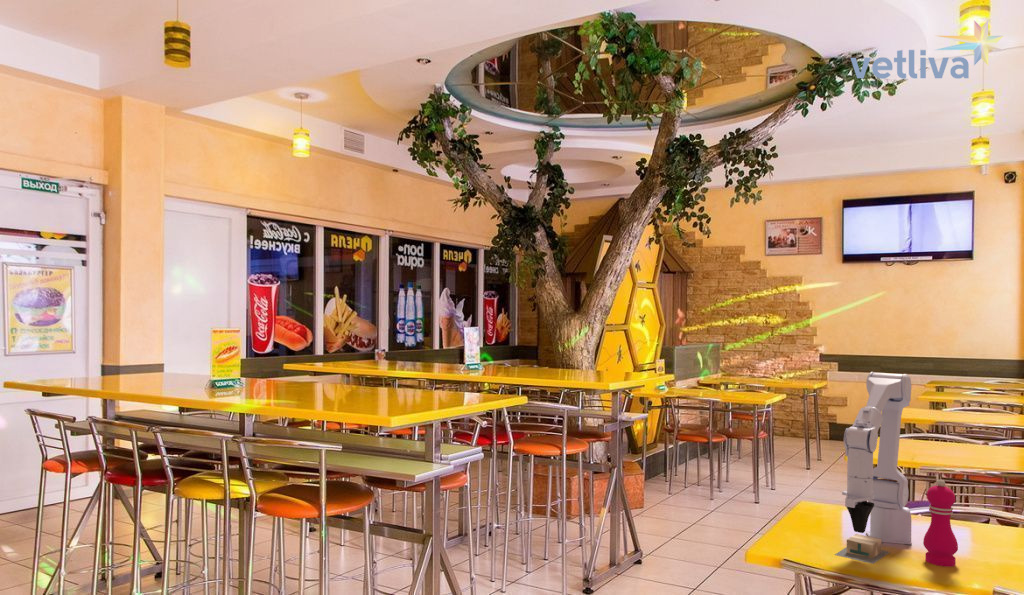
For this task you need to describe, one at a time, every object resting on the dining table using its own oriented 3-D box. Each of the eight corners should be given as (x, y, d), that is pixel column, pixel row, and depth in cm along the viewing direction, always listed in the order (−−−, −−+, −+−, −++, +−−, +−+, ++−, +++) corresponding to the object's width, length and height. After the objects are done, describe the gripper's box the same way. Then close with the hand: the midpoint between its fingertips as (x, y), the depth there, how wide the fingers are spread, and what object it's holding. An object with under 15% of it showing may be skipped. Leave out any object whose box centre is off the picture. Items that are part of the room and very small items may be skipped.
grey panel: (852, 544, 189) (852, 543, 189) (890, 552, 183) (890, 551, 183) (834, 555, 180) (834, 554, 180) (873, 564, 173) (873, 563, 173)
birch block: (872, 545, 177) (881, 539, 183) (846, 539, 182) (856, 533, 187) (872, 558, 177) (881, 552, 182) (846, 552, 182) (856, 546, 187)
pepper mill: (957, 570, 171) (958, 484, 171) (922, 564, 175) (923, 480, 175) (958, 561, 177) (958, 478, 177) (923, 555, 181) (924, 474, 181)
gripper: (853, 469, 188) (852, 522, 188) (832, 477, 177) (831, 534, 177) (882, 474, 183) (882, 528, 183) (863, 482, 172) (862, 540, 172)
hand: (859, 531), depth 180 cm, fingers closed
